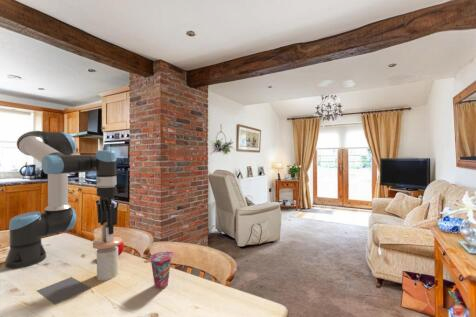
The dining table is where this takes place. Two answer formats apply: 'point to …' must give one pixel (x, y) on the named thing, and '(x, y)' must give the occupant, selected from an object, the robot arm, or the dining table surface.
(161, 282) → the cup
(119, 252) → the ornament
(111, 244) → the lid
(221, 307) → the dining table surface
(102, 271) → the white round pillar
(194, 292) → the dining table surface
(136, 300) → the dining table surface
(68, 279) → the mat
